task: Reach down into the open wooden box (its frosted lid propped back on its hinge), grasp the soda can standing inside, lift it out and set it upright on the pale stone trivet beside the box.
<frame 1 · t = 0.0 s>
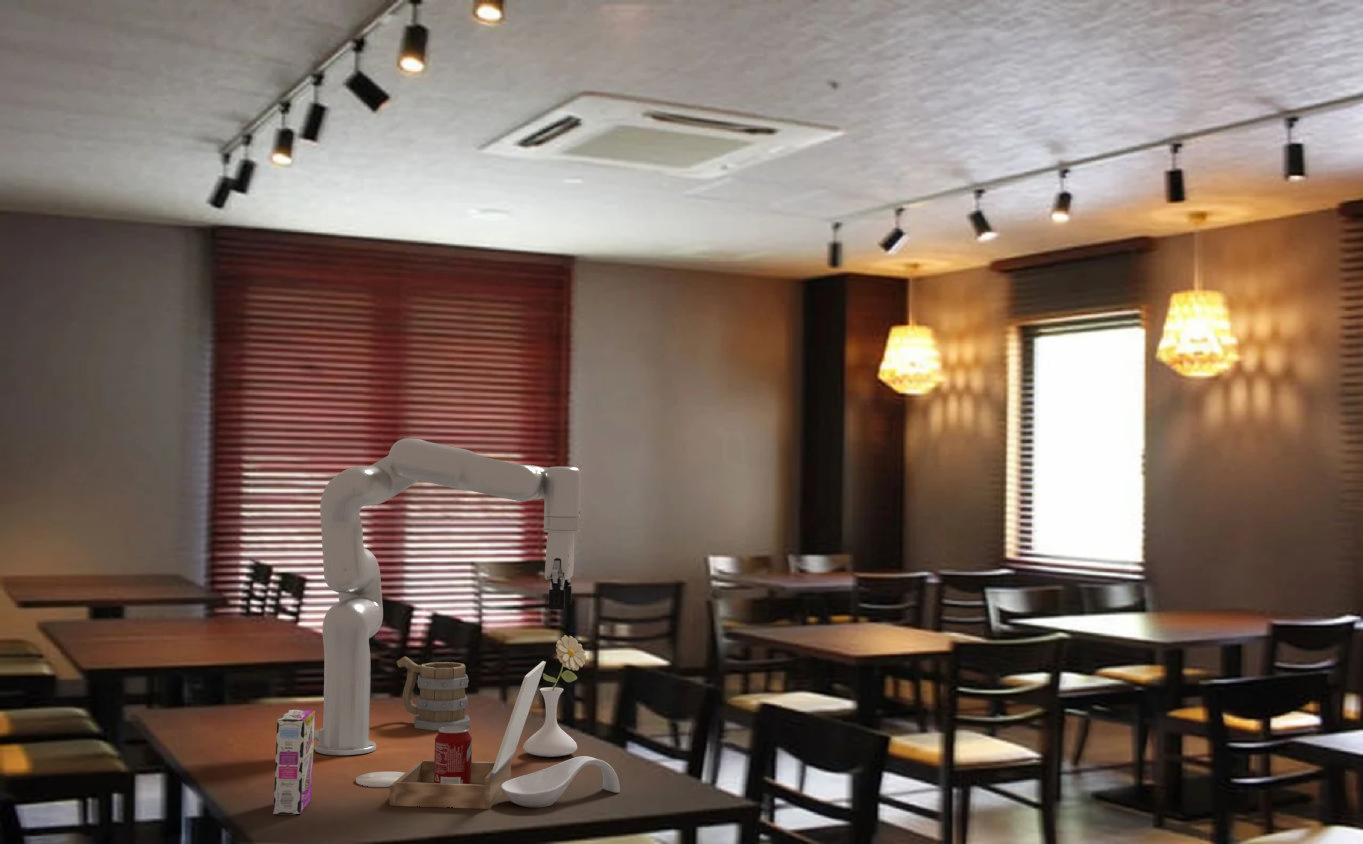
hand: (560, 607, 296), 31 cm above the table, tool pointing down, fingers open, 9 cm apart
trivet: (385, 781, 270), on the table
tankard: (429, 724, 330), on the table
candy bar box: (293, 809, 247), on the table
open wooden box: (452, 794, 260), on the table
soda can: (452, 795, 260), resting in open wooden box
spoon rest: (560, 801, 258), on the table
lid: (519, 717, 260), point 14 cm above the table, hinge at 108.0°
flower in vase: (553, 755, 297), on the table
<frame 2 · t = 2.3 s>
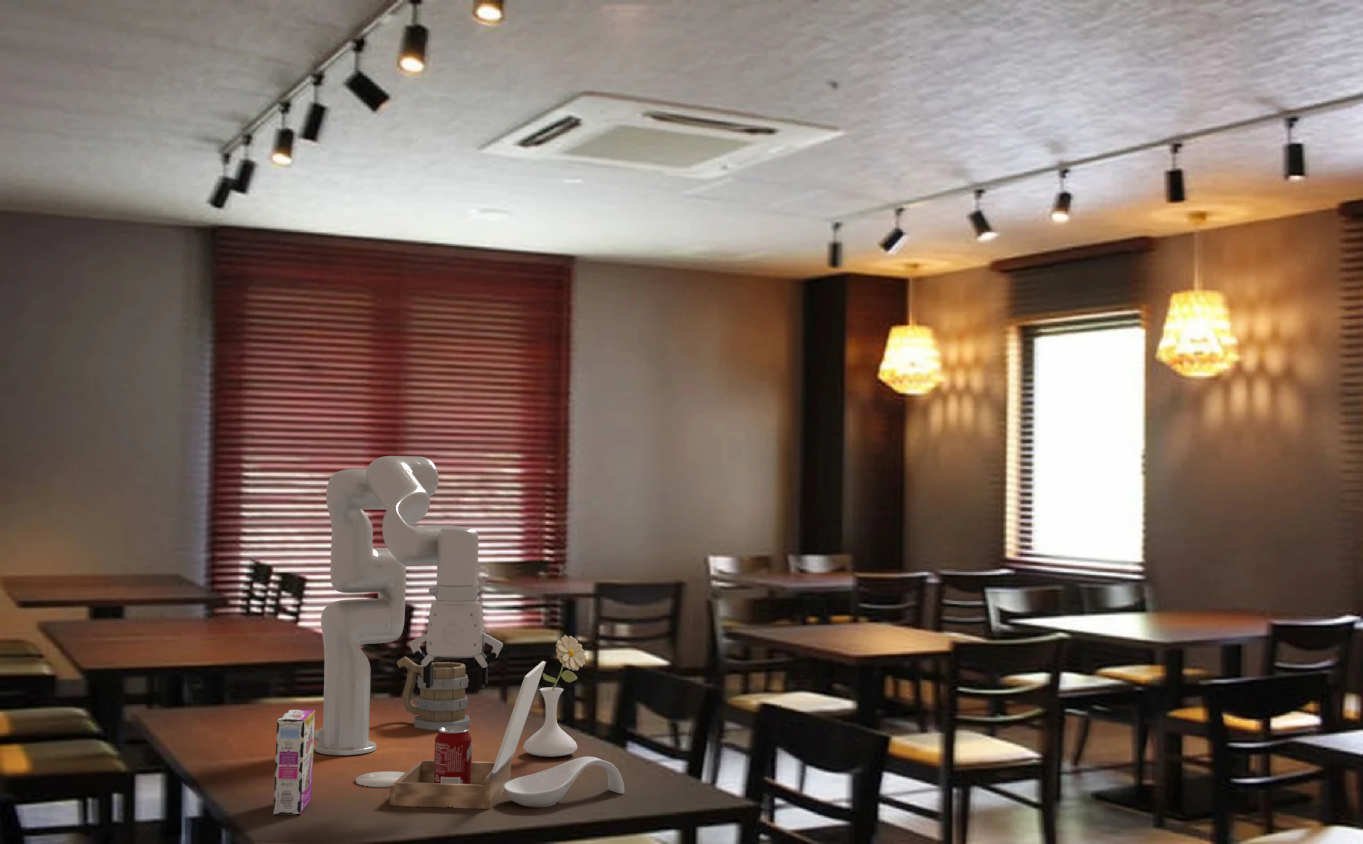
hand: (455, 687, 260), 20 cm above the table, tool pointing down, fingers open, 9 cm apart
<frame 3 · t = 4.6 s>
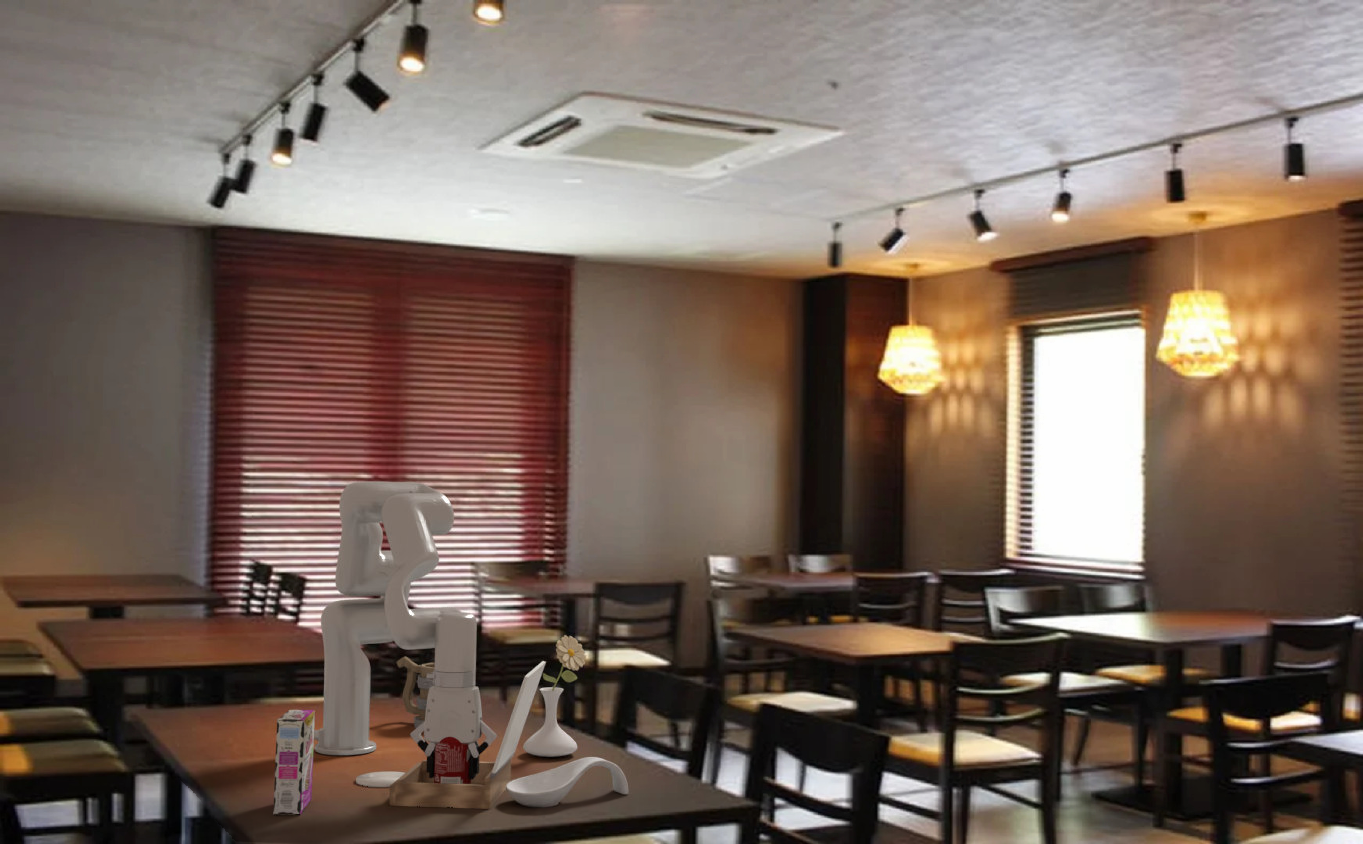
hand: (452, 776, 260), 3 cm above the table, tool pointing down, fingers closed on soda can, 6 cm apart
soda can: (452, 795, 260), resting in open wooden box, touching gripper
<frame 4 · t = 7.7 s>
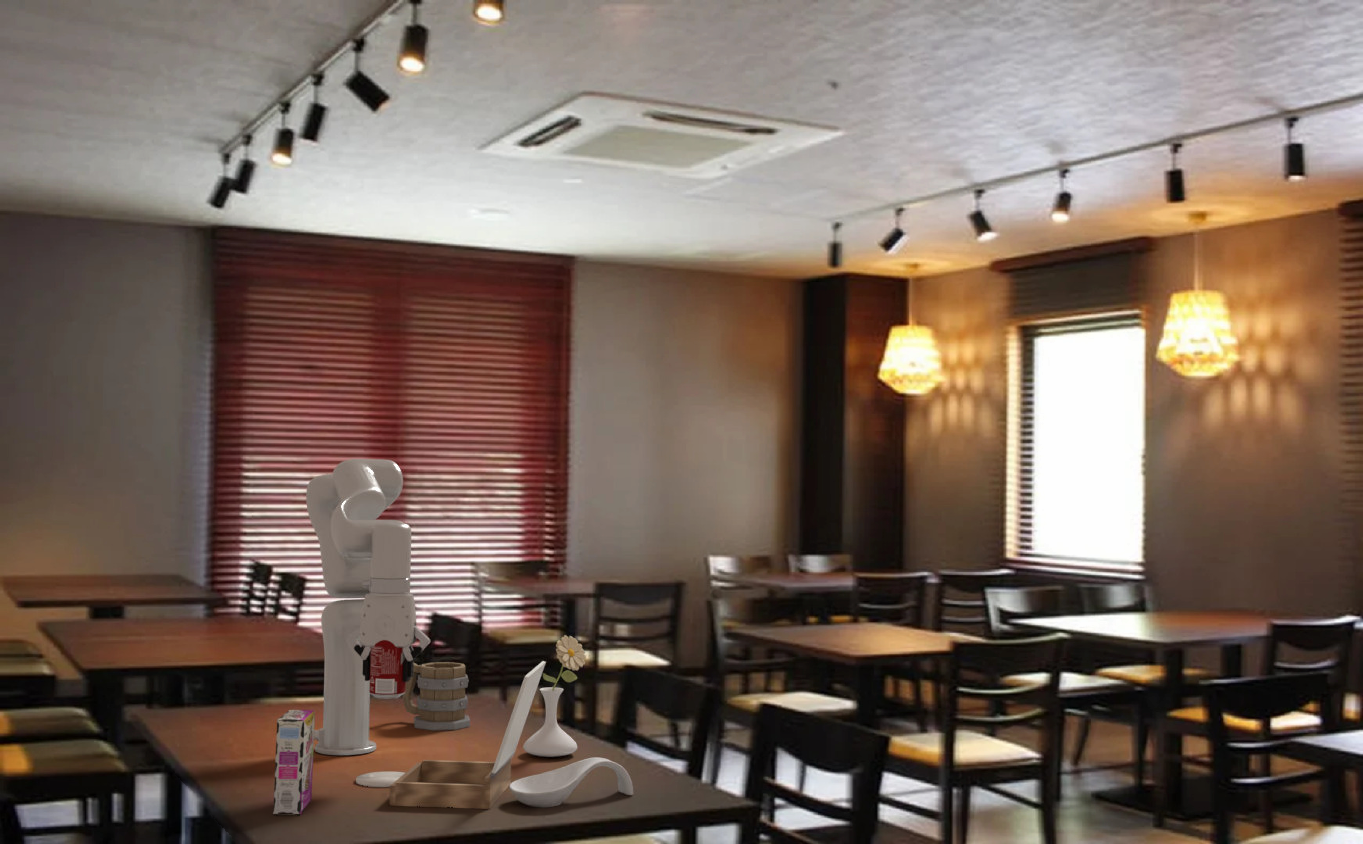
hand: (387, 679, 270), 19 cm above the table, tool pointing down, fingers closed on soda can, 6 cm apart
soda can: (387, 697, 270), point 16 cm above the table, touching gripper
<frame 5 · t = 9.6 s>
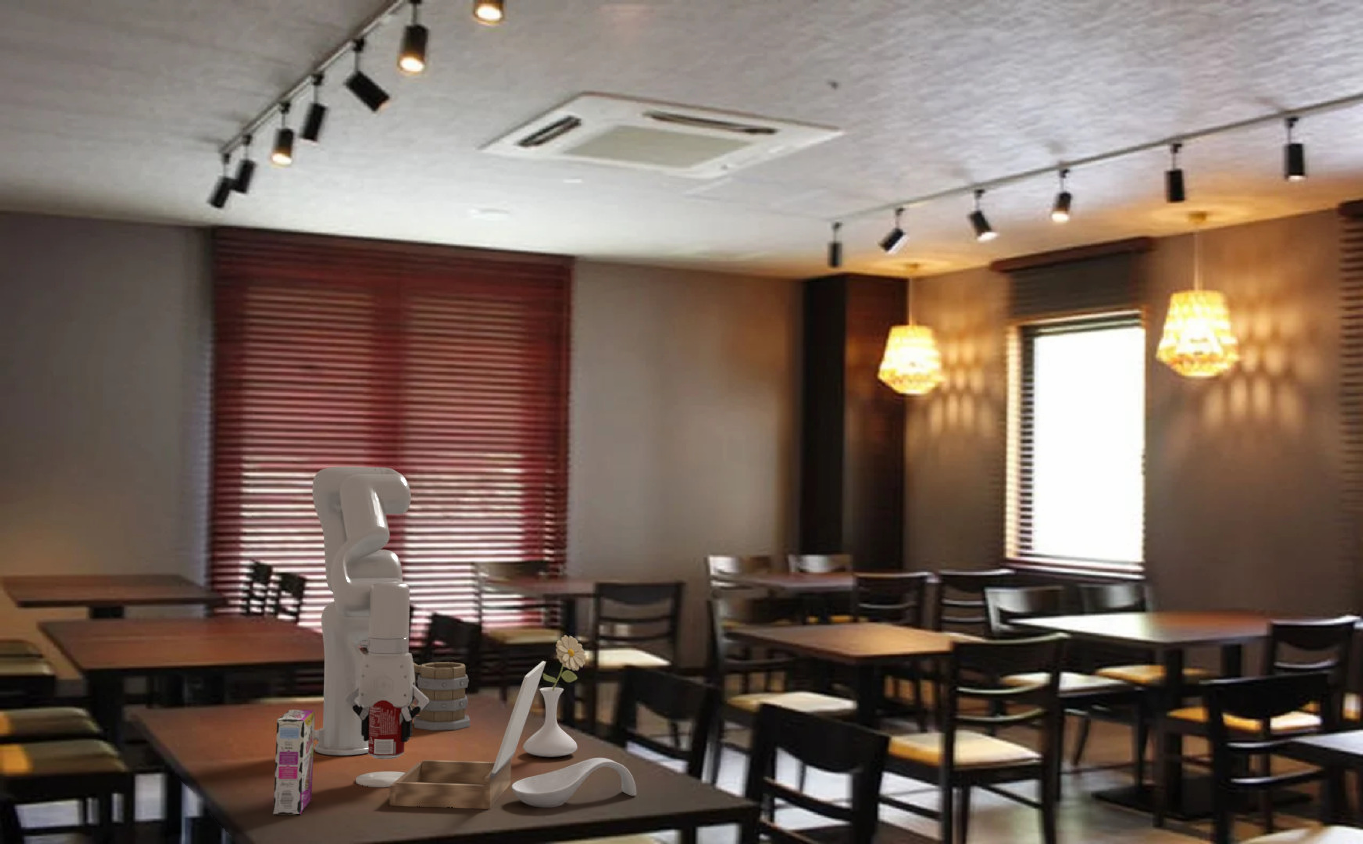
hand: (386, 739, 270), 8 cm above the table, tool pointing down, fingers closed on soda can, 6 cm apart
soda can: (386, 757, 270), point 4 cm above the table, touching gripper
when the fingers open (5 cm above the table, at t = 11.2 s): soda can stays where it is, resting on trivet.
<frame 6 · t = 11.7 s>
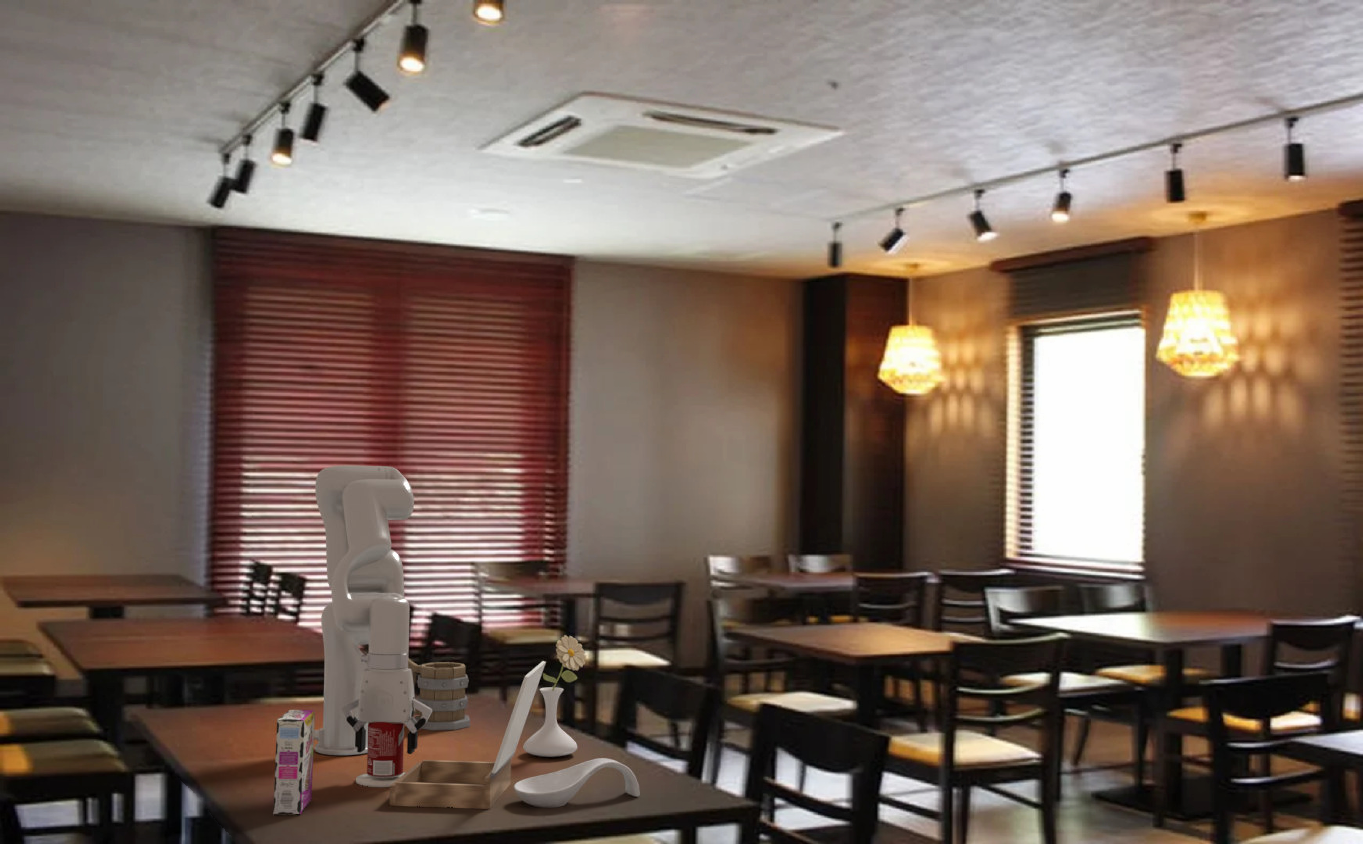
hand: (386, 752, 270), 6 cm above the table, tool pointing down, fingers open, 9 cm apart
soda can: (384, 778, 270), resting on trivet
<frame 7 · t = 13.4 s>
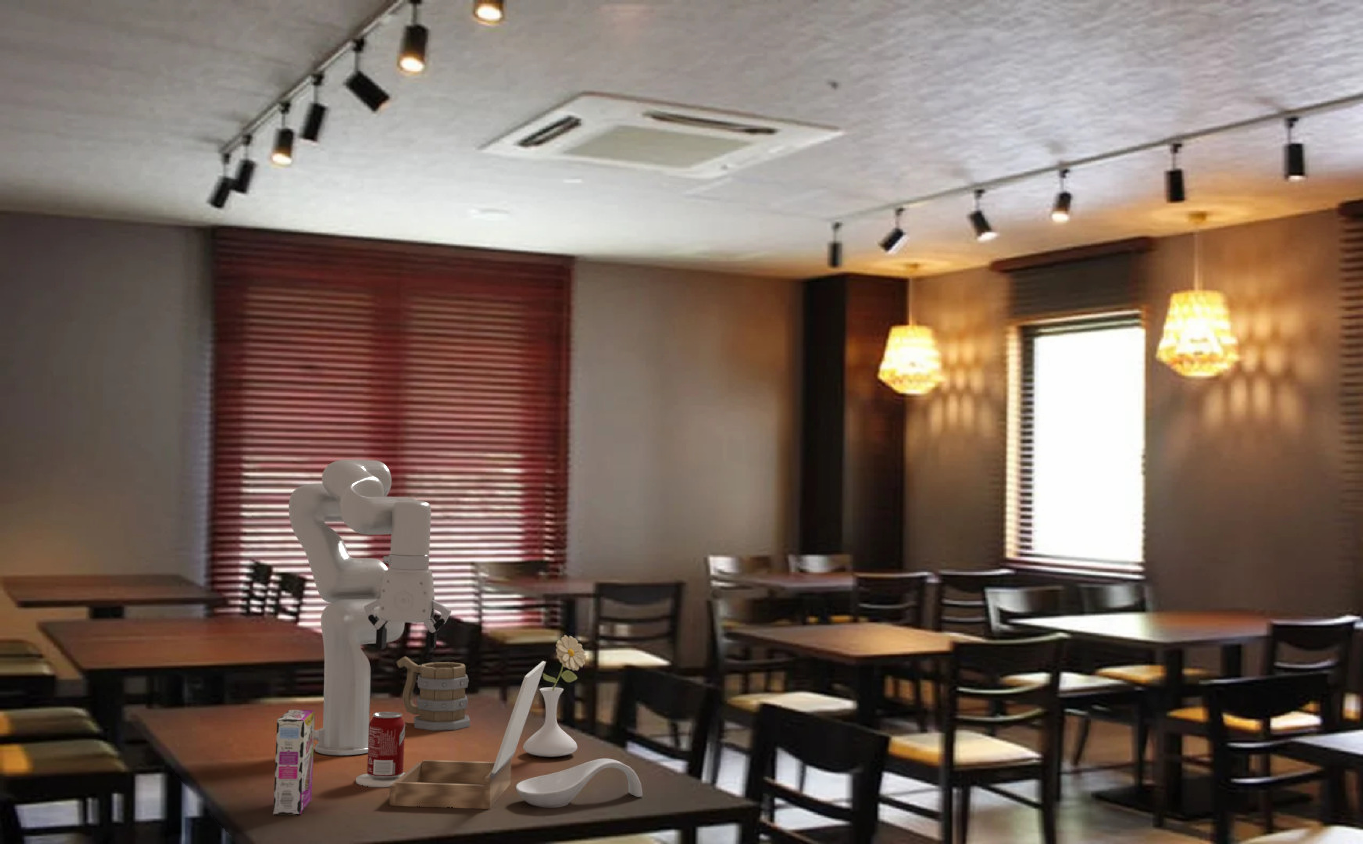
hand: (405, 650, 277), 24 cm above the table, tool pointing down, fingers open, 9 cm apart
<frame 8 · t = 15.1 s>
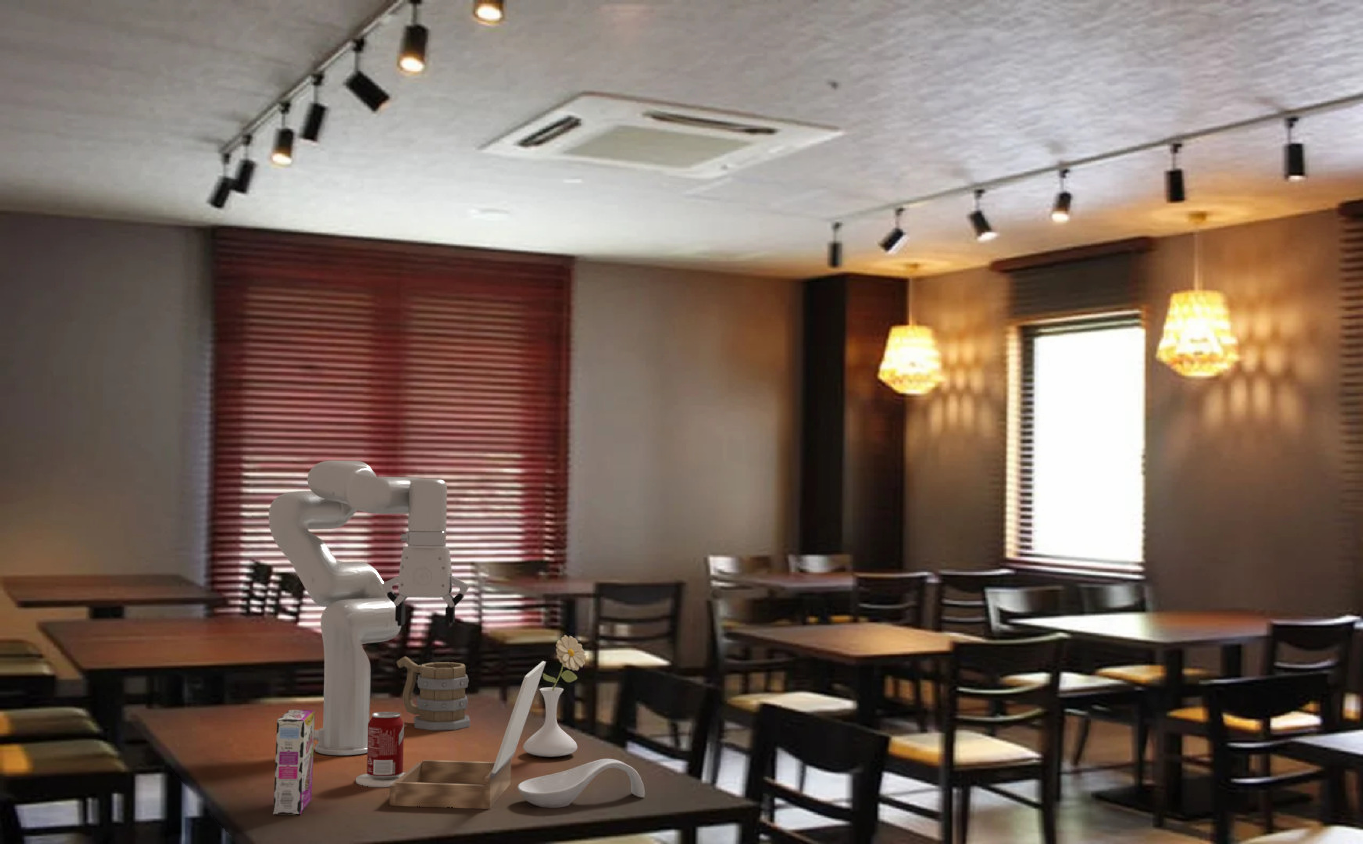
hand: (424, 626, 282), 28 cm above the table, tool pointing down, fingers open, 9 cm apart
at the end: soda can 0.2 cm from the trivet (horizontally); soda can tilted 1°; the gripper is holding nothing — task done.
